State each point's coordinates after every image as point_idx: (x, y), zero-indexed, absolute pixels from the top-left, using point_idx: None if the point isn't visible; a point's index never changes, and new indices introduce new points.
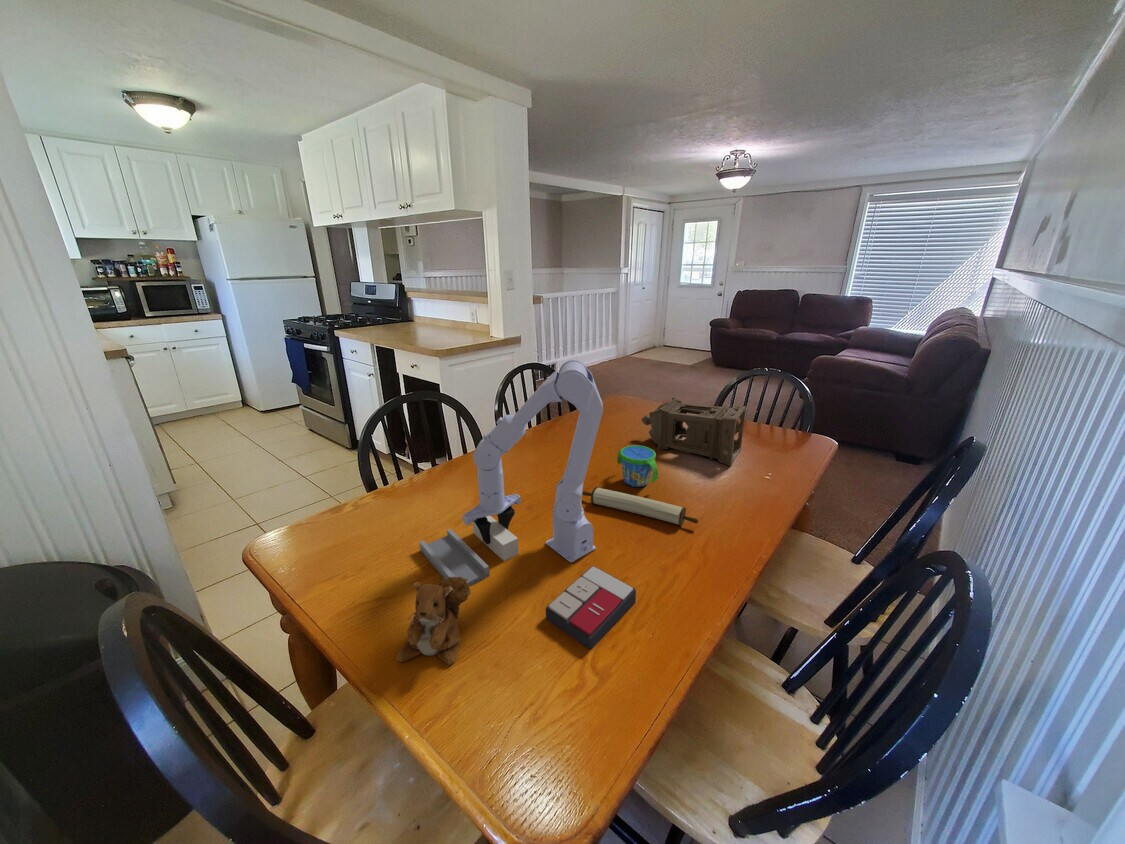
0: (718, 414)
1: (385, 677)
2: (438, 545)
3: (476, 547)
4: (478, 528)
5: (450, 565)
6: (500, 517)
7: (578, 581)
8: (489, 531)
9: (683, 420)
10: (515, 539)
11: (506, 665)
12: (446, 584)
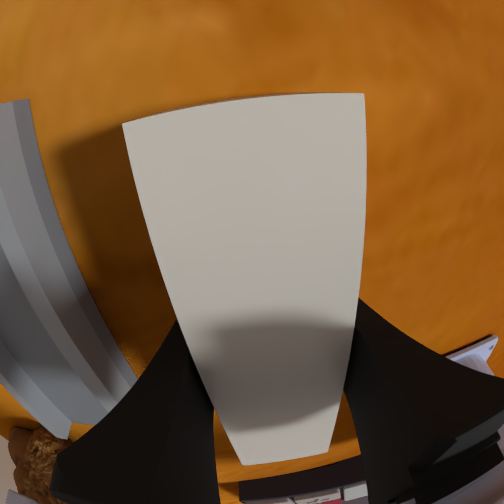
0: None
1: (7, 435)
2: None
3: (143, 272)
4: (139, 380)
5: (25, 352)
6: (375, 408)
7: (326, 496)
8: (211, 444)
9: None
10: (314, 453)
11: None
12: None
